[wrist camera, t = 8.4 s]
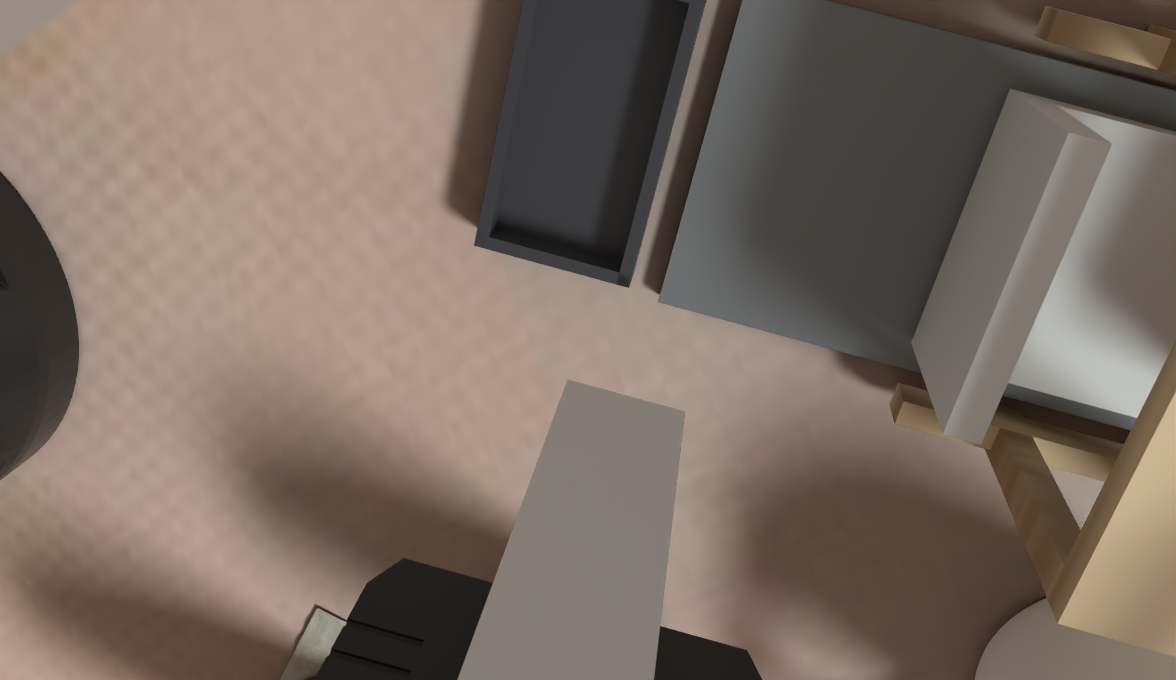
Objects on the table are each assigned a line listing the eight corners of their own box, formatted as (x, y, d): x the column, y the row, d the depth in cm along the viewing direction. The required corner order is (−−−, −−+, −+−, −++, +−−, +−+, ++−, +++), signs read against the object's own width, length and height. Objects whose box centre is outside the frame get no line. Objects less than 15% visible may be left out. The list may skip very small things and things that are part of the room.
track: (659, 295, 35) (658, 301, 34) (747, -21, 31) (747, -20, 30) (1335, 479, 34) (1344, 488, 33) (1516, 177, 30) (1530, 183, 29)
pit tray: (484, 232, 35) (474, 245, 34) (542, -55, 31) (533, -54, 30) (633, 273, 35) (628, 287, 33) (709, -12, 31) (707, -8, 30)
